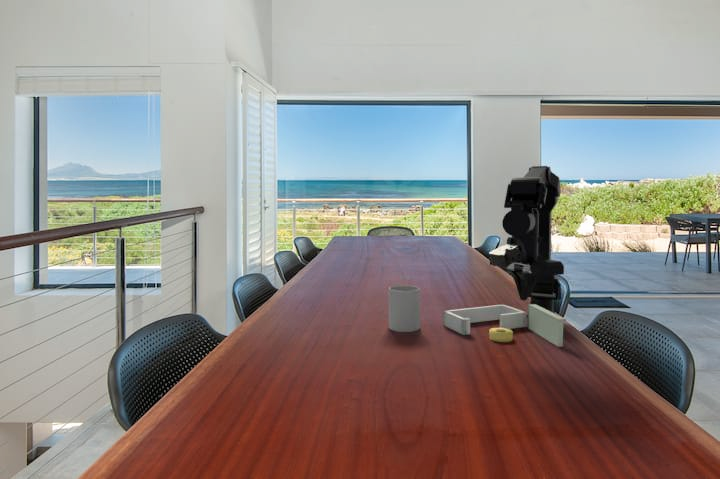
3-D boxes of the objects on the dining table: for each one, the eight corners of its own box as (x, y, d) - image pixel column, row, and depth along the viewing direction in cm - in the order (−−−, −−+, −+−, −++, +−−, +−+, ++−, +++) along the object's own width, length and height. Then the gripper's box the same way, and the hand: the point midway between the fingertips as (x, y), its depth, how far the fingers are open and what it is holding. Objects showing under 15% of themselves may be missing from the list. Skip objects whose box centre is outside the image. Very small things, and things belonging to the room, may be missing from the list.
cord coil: (502, 334, 119) (502, 326, 119) (517, 340, 114) (517, 332, 114) (484, 336, 117) (484, 328, 117) (498, 343, 112) (498, 334, 112)
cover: (528, 328, 124) (529, 304, 123) (535, 328, 124) (535, 304, 123) (557, 346, 109) (558, 319, 108) (565, 346, 109) (565, 319, 108)
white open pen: (504, 317, 135) (504, 295, 135) (532, 328, 124) (532, 304, 124) (443, 325, 128) (443, 302, 127) (467, 336, 117) (467, 311, 116)
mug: (415, 333, 120) (415, 292, 119) (384, 330, 123) (384, 290, 122) (426, 322, 131) (426, 284, 130) (397, 319, 134) (397, 282, 133)
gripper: (471, 231, 111) (470, 295, 113) (524, 237, 94) (522, 312, 96) (509, 230, 115) (508, 291, 117) (566, 235, 98) (564, 307, 99)
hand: (523, 300), depth 107 cm, fingers closed
